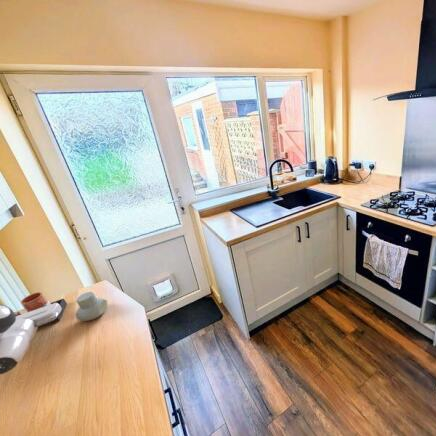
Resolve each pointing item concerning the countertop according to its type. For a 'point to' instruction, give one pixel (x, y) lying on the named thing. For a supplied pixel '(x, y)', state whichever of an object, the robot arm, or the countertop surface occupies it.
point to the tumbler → (33, 301)
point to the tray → (63, 305)
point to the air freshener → (90, 306)
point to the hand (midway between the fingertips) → (33, 308)
